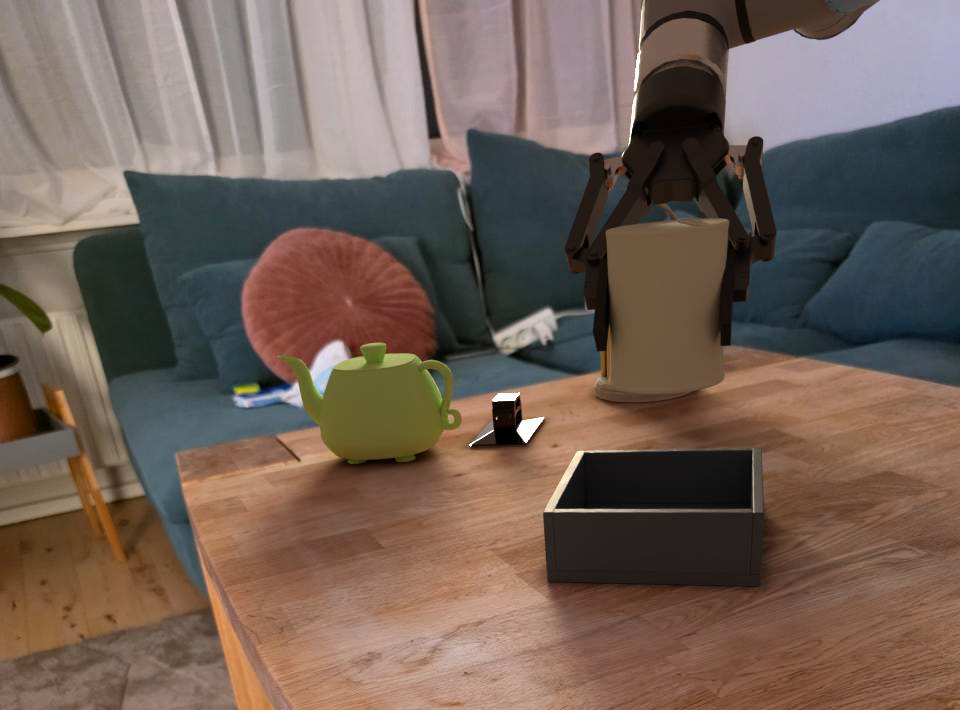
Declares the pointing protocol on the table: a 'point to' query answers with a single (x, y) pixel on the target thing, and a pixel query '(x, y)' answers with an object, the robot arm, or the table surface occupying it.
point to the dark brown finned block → (507, 424)
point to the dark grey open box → (658, 518)
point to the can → (666, 305)
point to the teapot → (379, 405)
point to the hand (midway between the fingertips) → (661, 338)
